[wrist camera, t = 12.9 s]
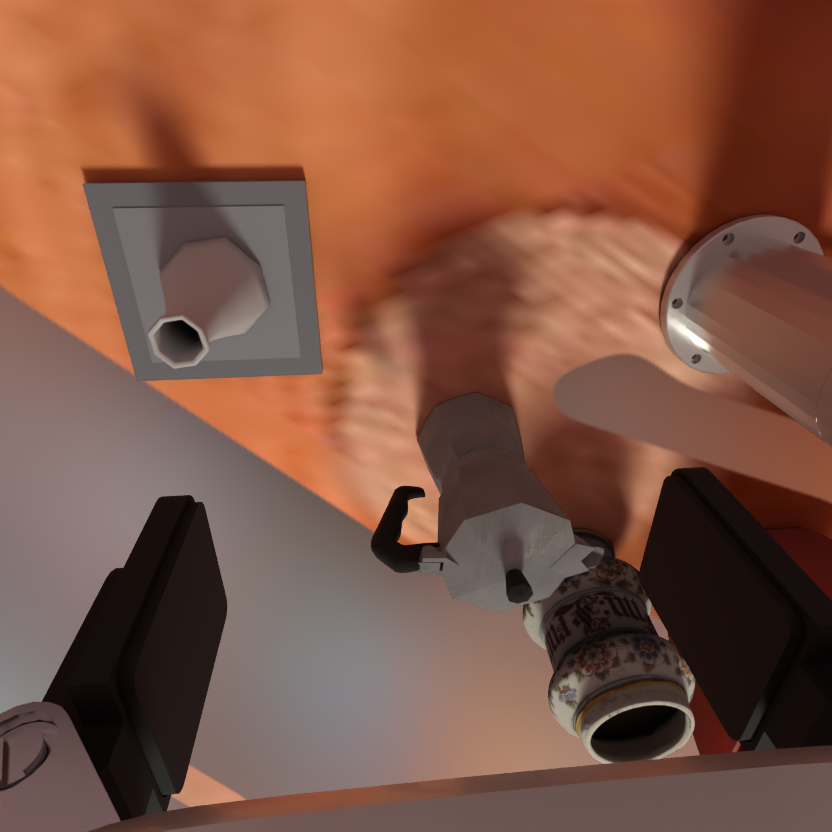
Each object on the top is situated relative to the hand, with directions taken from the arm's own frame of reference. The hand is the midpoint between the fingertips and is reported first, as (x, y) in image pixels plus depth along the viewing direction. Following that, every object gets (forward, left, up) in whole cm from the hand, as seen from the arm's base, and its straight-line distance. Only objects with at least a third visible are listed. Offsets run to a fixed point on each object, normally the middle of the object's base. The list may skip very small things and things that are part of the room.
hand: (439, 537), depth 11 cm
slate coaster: (+12, +4, -32) cm, 35 cm away
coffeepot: (-6, +18, -32) cm, 38 cm away
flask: (+12, +4, -32) cm, 34 cm away
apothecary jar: (-18, +34, -32) cm, 50 cm away
